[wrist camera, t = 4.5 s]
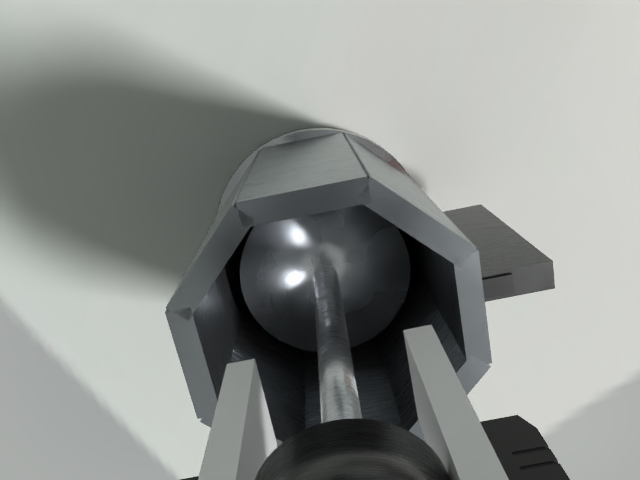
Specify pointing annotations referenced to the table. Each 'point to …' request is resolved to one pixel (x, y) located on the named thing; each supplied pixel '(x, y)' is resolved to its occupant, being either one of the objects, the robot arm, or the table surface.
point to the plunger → (334, 337)
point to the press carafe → (389, 345)
